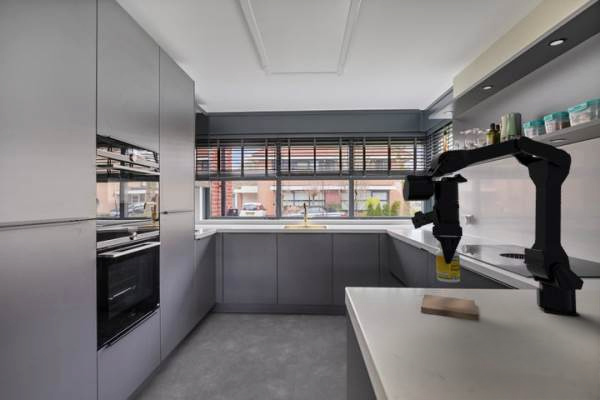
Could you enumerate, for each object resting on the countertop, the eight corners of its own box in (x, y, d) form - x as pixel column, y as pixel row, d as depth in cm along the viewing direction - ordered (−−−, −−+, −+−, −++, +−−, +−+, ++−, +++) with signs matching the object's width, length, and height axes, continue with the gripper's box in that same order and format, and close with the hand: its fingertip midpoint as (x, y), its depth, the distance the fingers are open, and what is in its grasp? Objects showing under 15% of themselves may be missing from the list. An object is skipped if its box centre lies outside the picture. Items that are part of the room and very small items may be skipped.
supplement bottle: (444, 276, 77) (443, 240, 78) (464, 280, 73) (463, 242, 73) (432, 279, 74) (431, 242, 75) (453, 283, 70) (451, 244, 70)
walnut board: (474, 304, 76) (473, 300, 76) (478, 320, 65) (478, 314, 65) (424, 298, 81) (424, 294, 81) (421, 311, 71) (420, 306, 71)
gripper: (416, 202, 86) (417, 255, 86) (408, 200, 70) (410, 265, 69) (458, 201, 81) (460, 257, 81) (461, 199, 65) (463, 269, 64)
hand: (447, 261), depth 74 cm, fingers closed on supplement bottle, 5 cm apart
